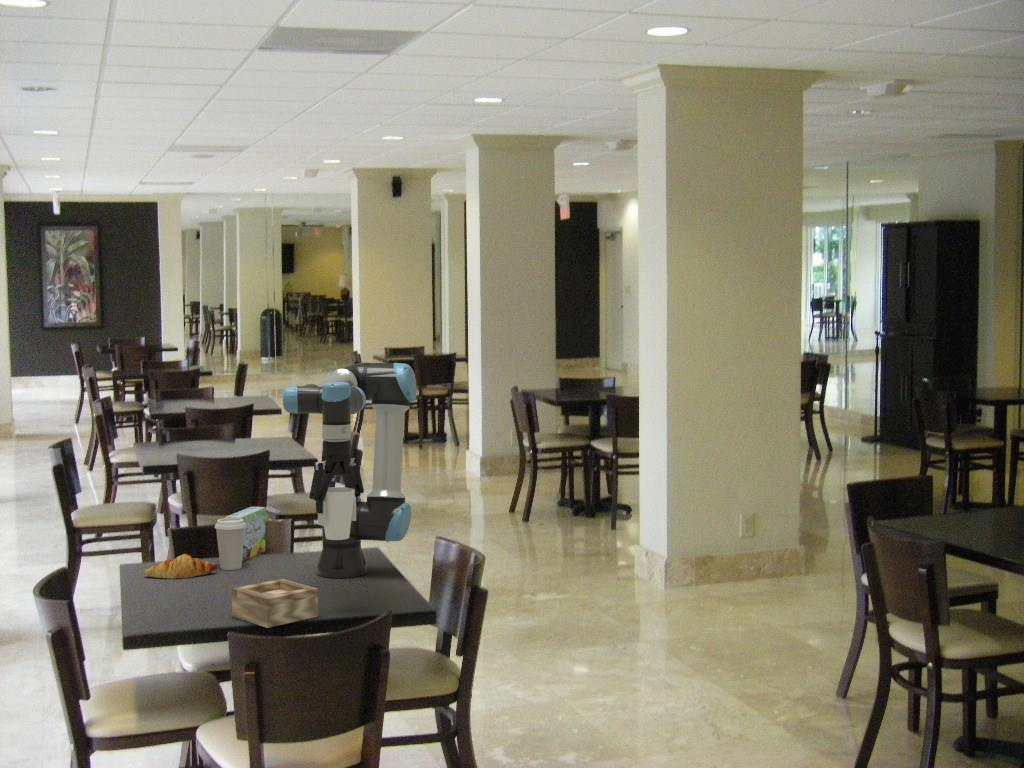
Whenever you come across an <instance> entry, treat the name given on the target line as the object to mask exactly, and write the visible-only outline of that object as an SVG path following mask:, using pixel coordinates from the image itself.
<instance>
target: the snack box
mask: <svg viewBox="0 0 1024 768" xmlns="http://www.w3.org/2000/svg"><path fill="white" fill-rule="evenodd" d="M266 512H267V511H266V507H265V506H250V507H246V508H244V509H242V510H239V511H237V512H234V513H232V514H229V515H227V516H225V517H224V518H241V519H243V520H244V522H245V524H246V527H245V529H244V542H243V555H242V563H243V562H247V560H250V559H251V558H254V557H255V556H258V555H260V554H262V553H264V552H266V514H267V513H266Z"/></svg>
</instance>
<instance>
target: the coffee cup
mask: <svg viewBox="0 0 1024 768" xmlns="http://www.w3.org/2000/svg"><path fill="white" fill-rule="evenodd" d="M245 527H246V524H245V522H244V520H243V519H241V518H225V517H224V518H219V519H217V520H216V523H215V525H214V529H215V530H216V539H217V549H218V558H219V568H220V570H223V571H236V570H240V569H242V566H243V565H242V564H243V562H242V555H243V542H244V529H245Z"/></svg>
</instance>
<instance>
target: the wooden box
mask: <svg viewBox="0 0 1024 768" xmlns="http://www.w3.org/2000/svg"><path fill="white" fill-rule="evenodd" d="M318 591H319V589H318V588H317V587H313V586H311V585H310V586H309V585H306V584H303V583H299V582H295V581H292V580H289V579H285V578H280V579H274V580H267V581H262V582H260V583H254V584H253V583H252V584H249V585H243V586H238V587H233V588H231V615H232V616H231V617H233V618H236V619H238V620H242V621H245V622H247V623H250V624H254V625H257V626H260V627H263V628H267V629H269V628H275V627H279V626H283V625H286V624H291V623H296V622H299V621H304V620H308V619H312V618H313V619H314V618H318V617H319V595H318V593H319V592H318Z"/></svg>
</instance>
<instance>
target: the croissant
mask: <svg viewBox="0 0 1024 768" xmlns="http://www.w3.org/2000/svg"><path fill="white" fill-rule="evenodd" d="M217 568H218V565H217V563H215V562H214V563H213V562H210V561H206V560H204V561H203V560H201V559H200V558H194V557H192V555H190V554H188V553H187V554H186V553H183V554H181V555H179V556H176V557H175V558H171V559H166V560H164V561H163V562H160V563H157V564H153V565H152V566H151V567H149V568H146V569H144V575H146V576H147V577H151V578H157V579H166V580H167V579H168V580H172V579H173V580H177V579H190V578H194V577H200V576H205V575H208V574H211V573H212V572H214V571H216V570H217Z"/></svg>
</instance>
